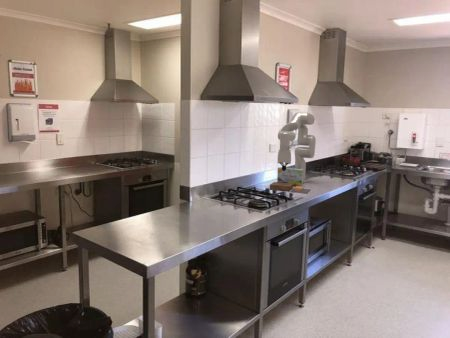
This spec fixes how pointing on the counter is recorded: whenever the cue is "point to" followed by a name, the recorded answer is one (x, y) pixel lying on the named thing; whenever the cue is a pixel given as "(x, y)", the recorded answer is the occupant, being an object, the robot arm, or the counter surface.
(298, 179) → the snack box
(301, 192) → the mat
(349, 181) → the counter surface
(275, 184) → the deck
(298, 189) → the tile
